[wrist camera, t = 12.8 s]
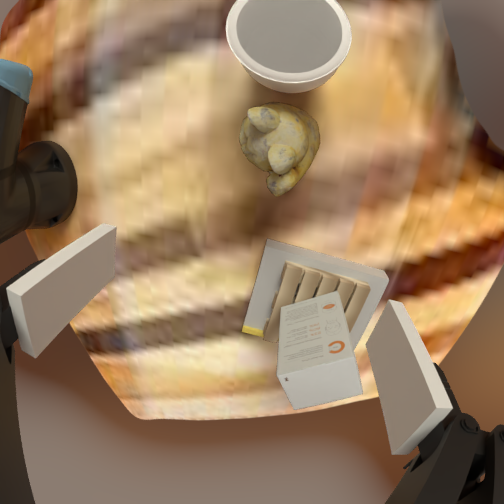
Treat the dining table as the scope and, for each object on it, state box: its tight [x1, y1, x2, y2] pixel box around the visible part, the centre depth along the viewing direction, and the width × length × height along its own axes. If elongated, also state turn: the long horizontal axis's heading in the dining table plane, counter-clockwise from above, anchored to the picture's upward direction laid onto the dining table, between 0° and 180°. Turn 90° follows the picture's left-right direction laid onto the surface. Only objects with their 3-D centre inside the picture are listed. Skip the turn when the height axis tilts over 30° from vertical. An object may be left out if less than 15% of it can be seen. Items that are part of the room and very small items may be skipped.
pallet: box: [263, 260, 371, 343], centre depth 42 cm, size 12×12×2 cm
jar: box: [226, 0, 352, 93], centre depth 27 cm, size 11×10×15 cm
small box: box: [276, 291, 363, 410], centre depth 35 cm, size 8×6×13 cm
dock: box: [242, 239, 389, 350], centre depth 44 cm, size 18×14×4 cm
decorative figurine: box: [239, 102, 320, 197], centre depth 31 cm, size 10×8×15 cm
